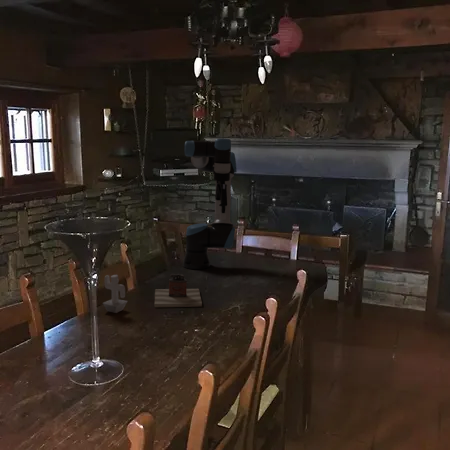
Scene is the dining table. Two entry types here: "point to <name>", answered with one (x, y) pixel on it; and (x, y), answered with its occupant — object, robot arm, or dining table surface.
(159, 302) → the board
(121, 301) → the figurine
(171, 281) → the lighter
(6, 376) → the dining table surface
